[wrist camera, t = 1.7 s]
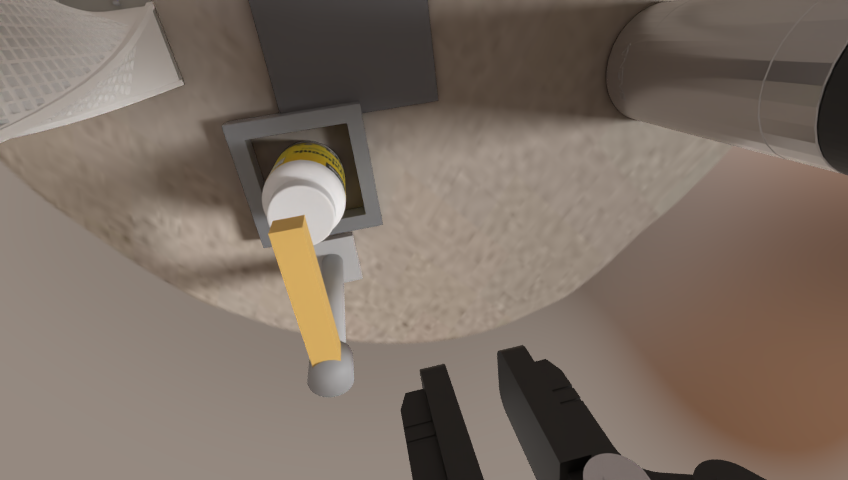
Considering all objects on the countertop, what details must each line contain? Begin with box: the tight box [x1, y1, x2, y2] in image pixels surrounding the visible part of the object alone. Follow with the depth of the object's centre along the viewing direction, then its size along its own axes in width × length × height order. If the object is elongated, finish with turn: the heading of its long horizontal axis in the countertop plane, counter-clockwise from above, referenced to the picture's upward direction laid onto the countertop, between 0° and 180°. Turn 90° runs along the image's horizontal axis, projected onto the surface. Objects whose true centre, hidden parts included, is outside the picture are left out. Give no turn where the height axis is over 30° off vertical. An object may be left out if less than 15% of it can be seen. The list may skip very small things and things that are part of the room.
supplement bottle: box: [262, 141, 346, 245], centre depth 29 cm, size 5×5×10 cm
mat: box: [249, 0, 438, 114], centre depth 29 cm, size 12×12×1 cm
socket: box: [222, 101, 383, 343], centre depth 29 cm, size 10×15×13 cm, turn 8°
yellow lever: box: [268, 215, 354, 397], centre depth 23 cm, size 11×3×2 cm, turn 8°
